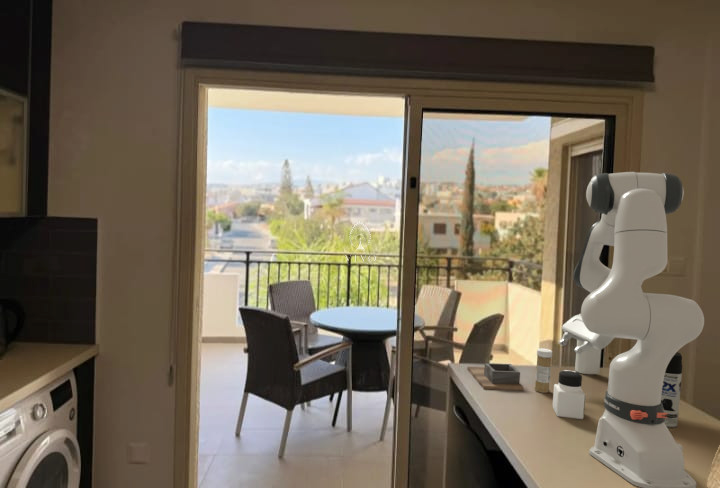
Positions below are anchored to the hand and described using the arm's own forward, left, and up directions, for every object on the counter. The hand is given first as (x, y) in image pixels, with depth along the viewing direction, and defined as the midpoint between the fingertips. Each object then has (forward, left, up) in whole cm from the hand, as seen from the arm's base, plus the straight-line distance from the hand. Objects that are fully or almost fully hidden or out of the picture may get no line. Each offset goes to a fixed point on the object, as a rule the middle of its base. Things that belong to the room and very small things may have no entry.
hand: (568, 348), depth 162 cm
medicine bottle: (-19, +8, -14) cm, 25 cm away
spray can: (-24, -17, -14) cm, 32 cm away
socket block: (+9, +20, -14) cm, 27 cm away
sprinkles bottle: (-1, +8, -14) cm, 16 cm away
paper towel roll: (+20, -17, -14) cm, 30 cm away
